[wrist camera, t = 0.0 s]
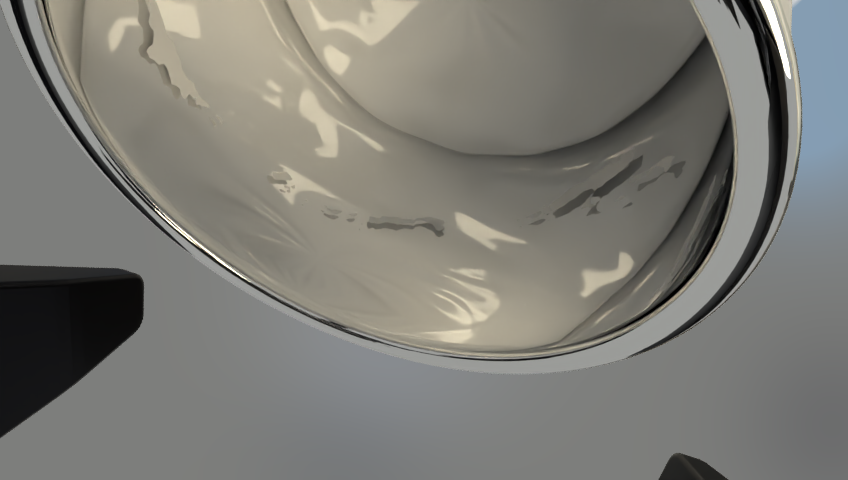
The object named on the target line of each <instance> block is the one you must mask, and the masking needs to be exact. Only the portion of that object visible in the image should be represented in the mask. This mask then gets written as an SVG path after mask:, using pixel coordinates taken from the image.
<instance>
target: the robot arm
mask: <svg viewBox="0 0 848 480" xmlns="http://www.w3.org/2000/svg"><path fill="white" fill-rule="evenodd" d="M143 307H144V282H143V279H142V278H141V276H140V275H138V274H135V273H132V272H129V271H126V270H123V269H118V268H89V267H88V268H87V267H56V266H23V265H22V266H21V265H0V438H1V437H3V436H4V435H6V434H7V433H8V432H10V431H11V430H13V429H14V428H15V427H17V426H18V425H19V424H21V423H22V422H23V421H25V420H27V419H28V418H29V417H31V416H32V415H33V414H35V413H36V412H38V411H39V410H41V409H42V408H43V407H45V406H46V405H48V404H49V403H50V402H52V401H53V400H54V399H56V398H57V397H59V396H60V395H61V394H63V393H64V392H65V391H67V390H68V389H69V388H71V387H72V386H73V385H75V384H76V383H77V382H78V381H79V380H81V379H82V378H83V377H84V376H86V375H87V374H88V373H89V372H90V371H91V370H92V369H94V368H95V367H96V366H97V365H98V364H99V363H100V362H102V361H103V360H104V359H105V358H106V357H107V356H109V355H110V354H111V353H112V352H113V351H114V350H115V349H117V348H118V347H119V346H120V345H121V344H122V343H124V342H125V341H126V340H127V339H128V338H129V337H130V336H132V335H133V334H134V333H135V332H136V331H137V330H138V328H139V327H140V325H141V323H142V320H143V311H144V308H143ZM659 480H728V479H727V478H725V477H724V476H723V475H722V474H720V473H719V472H717V471H716V470H715V469H714V468H712V467H711V466H710V465H708V464H707V463H705V462H704V461H702V460H700V459H697V458H694V457H691V456H687V455H684V454H681V453H675V454H673V455H672V456H671V458H670V459H669V461H668V462H667V464H666V466H665V468H664V470H663V472H662V474H661V476H660V478H659Z"/></svg>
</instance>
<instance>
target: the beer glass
mask: <svg viewBox="0 0 848 480" xmlns="http://www.w3.org/2000/svg"><path fill="white" fill-rule="evenodd" d="M0 6H1V9H2V12H3V15H4V17H5V20H6V22H7V25H8V27H9V30H10V32H11V34H12V36H13V39H14V41H15V43H16V46H17V48H18V50H19V52H20V53H21V56H22V58H23V60H24V62H25V64H26V65H27V67H28V69H29V71H30V72H31V75H32V77H33V78H34V80H35V82H36V83H37V85H38V87H39V89H40V90H41V92H42V93H43V95H44V97H45V98H46V100H47V102H48V103H49V105H50V106H51V108H52V109H53V111H54V112H55V114H56V115H57V117H58V118H59V119H60V121H61V122H62V124H63V125H64V127H65V128H66V129H67V131H68V132H69V133H70V135H71V136H72V137H73V139H74V140H75V141H76V142H77V144H78V145H79V146H80V148H81V149H82V150H83V151H84V152H85V154H86V155H87V156H88V158H89V159H90V160H91V161H92V162H93V164H94V165H95V166H96V167H97V168H98V169H99V170H100V172H102V174H103V175H104V176H105V177H106V178H107V179H108V180H109V181H110V182H111V184H112V185H113V186H114V187H115V188H116V189H117V190H118V191H119V192H120V193H121V194H122V195H123V196H124V197H125V198H126V199H127V200H128V201H129V202H130V203H131V204H132V205H133V206H134V207H135V208H136V209H137V210H138V211H139V212H140V213H141V214H143V215H144V216H145V217H146V218H147V219H148V220H149V221H150V222H151V223H153V224H154V225H155V226H156V227H157V228H158V229H159V230H161V231H162V232H163V233H164V234H165V235H166V236H168V237H169V238H170V239H171V240H173V241H174V242H175V243H176V244H177V245H179V246H180V247H181V248H182V249H184V250H185V251H186V252H188V253H189V254H190V255H192V256H193V257H194V258H196V259H197V260H198V261H200V262H201V263H203V264H204V265H206V266H207V267H208V268H210V269H211V270H213V271H214V272H215V273H217V274H218V275H220V276H221V277H223V278H224V279H226V280H228V281H229V282H230V283H232V284H234V285H235V286H237V287H238V288H240V289H242V290H243V291H245V292H247V293H248V294H250V295H252V296H253V297H255V298H257V299H259V300H260V301H262V302H264V303H266V304H268V305H269V306H271V307H273V308H275V309H277V310H279V311H281V312H283V313H284V314H286V315H288V316H290V317H292V318H294V319H297V320H299V321H301V322H303V323H305V324H307V325H309V326H312V327H314V328H316V329H318V330H321V331H323V332H326V333H328V334H330V335H333V336H335V337H338V338H340V339H343V340H346V341H348V342H351V343H354V344H356V345H359V346H362V347H365V348H368V349H371V350H374V351H378V352H381V353H384V354H388V355H391V356H395V357H398V358H402V359H406V360H410V361H414V362H419V363H423V364H428V365H433V366H438V367H444V368H450V369H457V370H464V371H473V372H483V373H499V374H542V373H556V372H566V371H574V370H580V369H586V368H592V367H597V366H601V365H605V364H610V363H613V362H617V361H620V360H624V359H627V358H630V357H633V356H636V355H639V354H641V353H644V352H646V351H649V350H652V349H654V348H656V347H659V346H660V345H663V344H665V343H667V342H669V341H671V340H673V339H675V338H677V337H678V336H680V335H682V334H684V333H685V332H687V331H689V330H690V329H692V328H693V327H695V326H696V325H698V324H699V323H701V322H702V321H703V320H705V319H706V318H707V317H708V316H710V315H711V314H712V313H714V312H715V311H716V310H717V309H718V308H720V307H721V306H722V305H723V304H724V303H725V302H726V301H727V300H728V299H729V298H730V297H731V296H732V295H733V294H734V293H735V292H736V291H737V290H738V289H739V288H740V287H741V286H742V285H743V284H744V283H745V281H746V280H747V279H748V278H749V277H750V275H751V274H752V273H753V272H754V270H755V269H756V267H757V266H758V265H759V263H760V262H761V260H762V259H763V257H764V256H765V254H766V252H767V251H768V249H769V247H770V245H771V244H772V242H773V240H774V238H775V236H776V234H777V232H778V230H779V228H780V226H781V223H782V220H783V218H784V216H785V213H786V210H787V208H788V204H789V201H790V198H791V195H792V192H793V188H794V183H795V178H796V174H797V170H798V163H799V156H800V148H801V135H802V97H801V87H800V77H799V71H798V64H797V58H796V52H795V48H794V44H793V41H792V36H791V16H792V0H0Z"/></svg>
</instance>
